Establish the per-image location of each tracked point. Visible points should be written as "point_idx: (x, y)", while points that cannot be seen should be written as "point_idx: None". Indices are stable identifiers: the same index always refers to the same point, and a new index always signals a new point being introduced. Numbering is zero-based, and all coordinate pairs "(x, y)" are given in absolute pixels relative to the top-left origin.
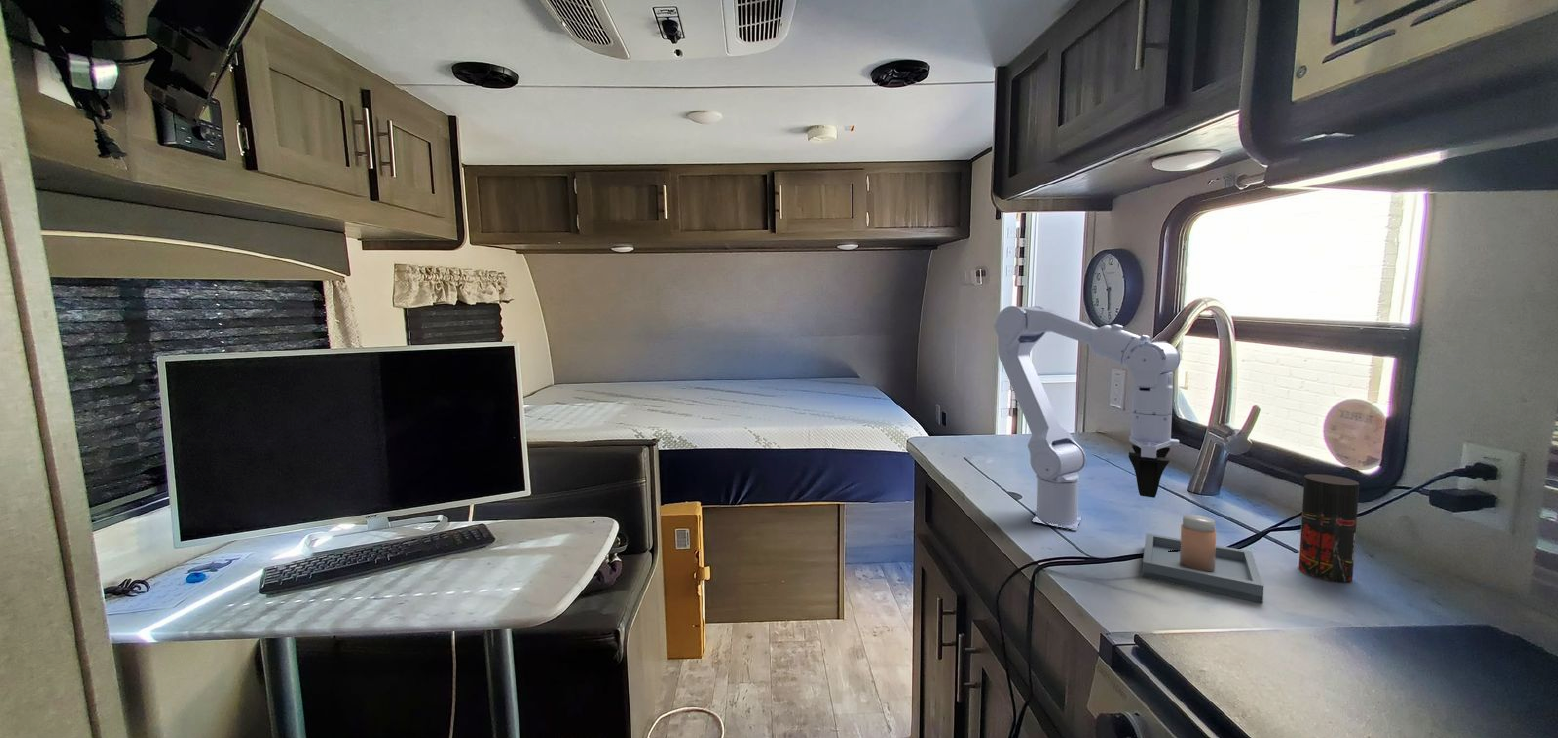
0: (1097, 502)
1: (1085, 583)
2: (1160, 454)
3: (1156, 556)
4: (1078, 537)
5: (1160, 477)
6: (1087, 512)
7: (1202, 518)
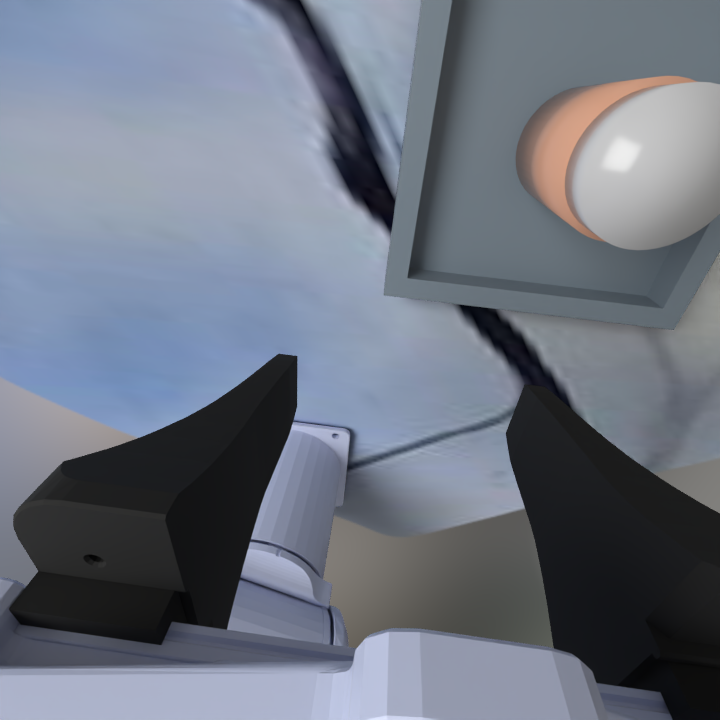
0: (40, 370)
1: (707, 422)
2: (212, 497)
3: (518, 268)
4: (390, 423)
5: (642, 466)
6: (162, 397)
7: (657, 153)
